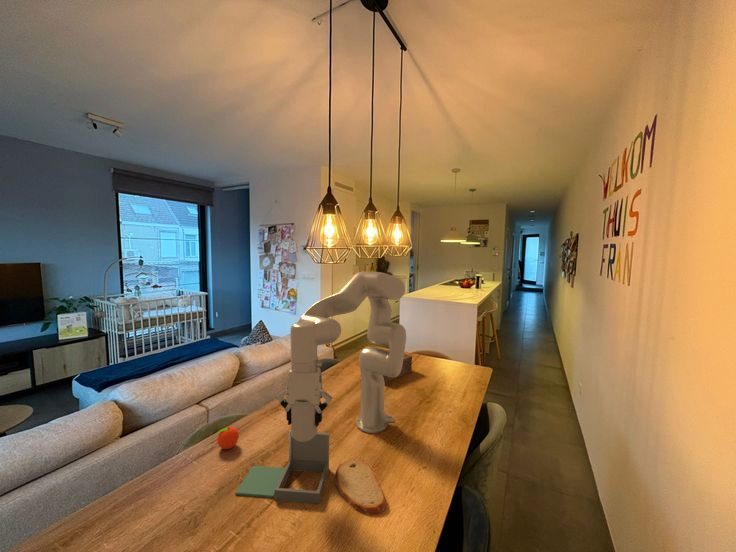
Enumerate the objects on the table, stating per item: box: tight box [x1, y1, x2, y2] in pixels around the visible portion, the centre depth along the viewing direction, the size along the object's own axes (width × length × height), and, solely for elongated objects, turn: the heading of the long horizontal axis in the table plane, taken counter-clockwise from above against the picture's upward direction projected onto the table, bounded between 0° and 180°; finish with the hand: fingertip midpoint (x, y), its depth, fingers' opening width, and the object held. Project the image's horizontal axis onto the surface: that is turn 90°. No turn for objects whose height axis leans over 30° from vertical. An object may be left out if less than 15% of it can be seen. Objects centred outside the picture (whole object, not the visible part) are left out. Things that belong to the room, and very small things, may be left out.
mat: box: [235, 465, 286, 499], centre depth 91 cm, size 11×11×1 cm
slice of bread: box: [334, 457, 387, 516], centre depth 90 cm, size 18×18×4 cm
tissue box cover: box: [383, 352, 413, 383], centre depth 174 cm, size 26×14×10 cm, turn 133°
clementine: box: [213, 426, 240, 450], centre depth 106 cm, size 8×7×7 cm
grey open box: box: [274, 429, 330, 505], centre depth 90 cm, size 13×14×13 cm
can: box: [290, 401, 318, 442], centre depth 89 cm, size 8×8×12 cm
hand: (304, 422), depth 89 cm, fingers closed on can, 7 cm apart
